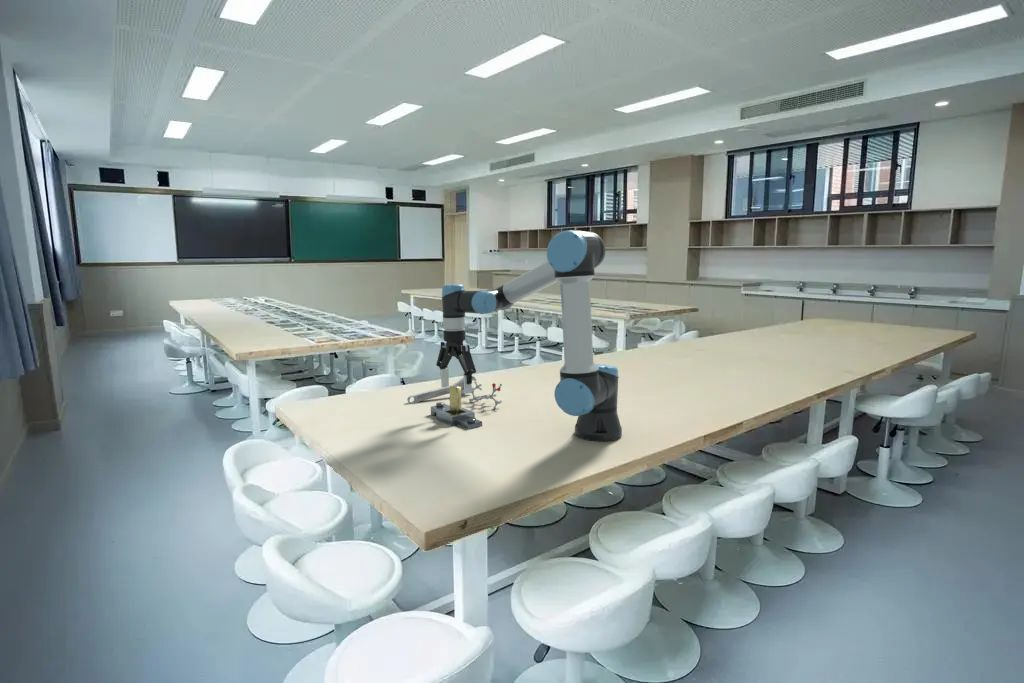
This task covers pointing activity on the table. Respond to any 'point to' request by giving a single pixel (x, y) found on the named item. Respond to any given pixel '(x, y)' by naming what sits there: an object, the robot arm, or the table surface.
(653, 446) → the table surface
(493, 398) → the molecular model
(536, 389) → the table surface
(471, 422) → the link plate
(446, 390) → the wrench
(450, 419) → the link plate
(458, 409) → the pin
